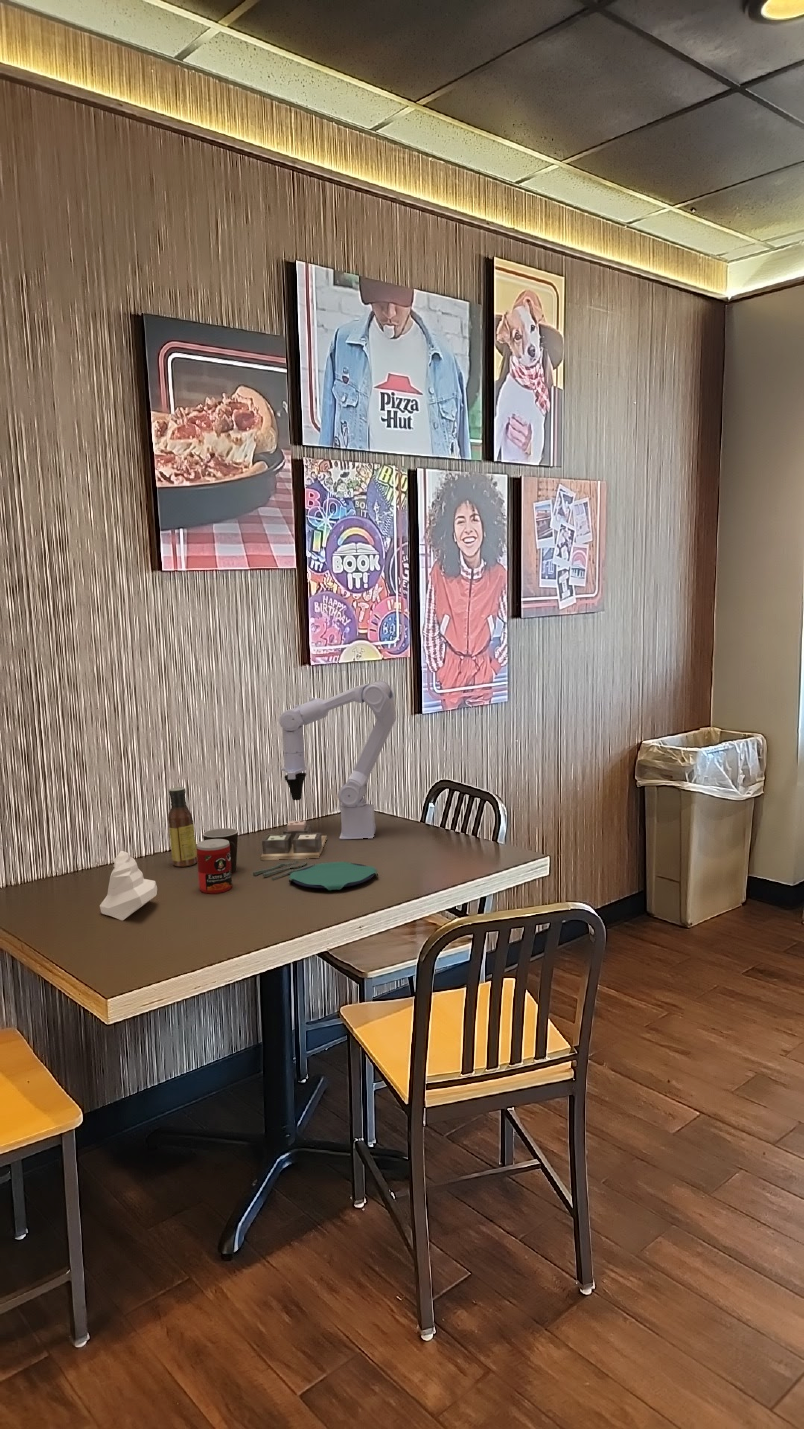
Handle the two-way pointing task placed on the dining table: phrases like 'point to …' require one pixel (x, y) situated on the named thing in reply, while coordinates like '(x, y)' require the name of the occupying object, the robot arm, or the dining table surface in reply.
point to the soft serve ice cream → (126, 888)
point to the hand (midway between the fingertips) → (296, 799)
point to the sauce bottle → (181, 830)
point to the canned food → (214, 865)
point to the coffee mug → (227, 835)
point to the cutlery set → (324, 874)
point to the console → (293, 845)
